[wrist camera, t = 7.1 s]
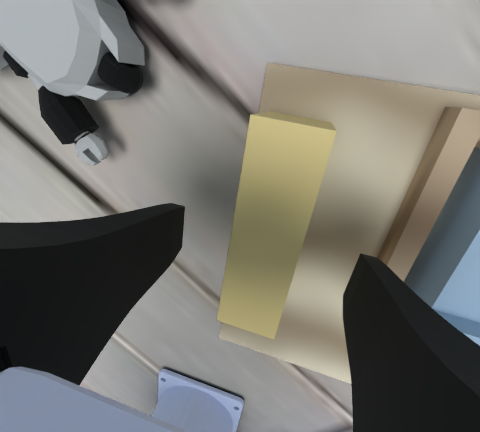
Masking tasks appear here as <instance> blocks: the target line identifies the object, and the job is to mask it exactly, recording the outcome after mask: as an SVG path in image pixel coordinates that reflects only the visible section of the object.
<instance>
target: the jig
mask: <svg viewBox="0 0 480 432" xmlns="http://www.w3.org/2000/svg"><path fill="white" fill-rule="evenodd" d="M266 111H272V112H278V113H283V114H288V115H294V116H299V117H304V118H310V119H315V120H321V121H326V122H331V123H332V124H333V126H334V127H335V129H336V131H337V132H336V136H335V139H334V142H333V146H332V149H331V152H330V156H329V159H328V162H327V165H326V169H325V172H324V175H323V179H322V182H321V185H320V189H319V192H318V195H317V199H316V202H315V205H314V209H313V212H312V215H311V219H310V222H309V225H308V229H307V232H306V235H305V239H304V242H303V245H302V249H301V252H300V255H299V259H298V262H297V265H296V269H295V272H294V275H293V279H292V282H291V285H290V288H289V292H288V295H287V298H286V302H285V305H284V308H283V312H282V315H281V318H280V322H279V325H278V328H277V332H276V335H275V338H274V339H271V338H268V337H265V336H262V335H259V334H256V333H253V332H250V331H247V330H244V329H241V328H238V327H235V326H232V325H229V324H226V323H223V322H222V324H221V330H220V335H219V338H220V339H223V340H226V341H229V342H232V343H235V344H238V345H241V346H243V347H246V348H249V349H252V350H255V351H258V352H261V353H264V354H266V355H269V356H272V357H275V358H278V359H281V360H284V361H287V362H289V363H292V364H295V365H298V366H301V367H304V368H307V369H310V370H312V371H315V372H318V373H321V374H324V375H327V376H330V377H333V378H335V379H338V380H341V381H344V382H347V383H350V384H351V374H350V367H349V360H348V353H347V346H346V339H345V332H344V324H343V294H344V291H345V289H346V286H347V284H348V282H349V279H350V277H351V275H352V272H353V270H354V267H355V265H356V263H357V260H358V258H359V255H360V253H362V254H366V255H369V256H373V257H377V258H379V259H380V260H381V261H382V262H383V263H385V264H386V265H387V266H388V267H389V268H390V269H391V270H392V271H393V272H394V273H395V274H396V275H397V276H398V277H399V278H400V279H401V280H402V281H403V282H404V280H405V278H406V277H407V275H408V273H409V271H410V269H411V267H412V265H413V263H414V261H415V259H416V258H417V256H418V254H419V252H420V250H421V248H422V246H423V244H424V242H425V240H426V239H427V237H428V235H429V233H430V231H431V229H432V227H433V225H434V223H435V221H436V220H437V218H438V216H439V214H440V212H441V210H442V208H443V206H444V204H445V202H446V201H447V199H448V197H449V195H450V193H451V191H452V189H453V187H454V185H455V184H456V182H457V180H458V178H459V176H460V174H461V172H462V170H463V168H464V166H465V165H466V163H467V161H468V159H469V157H470V155H471V153H472V151H473V149H474V147H477V148H480V95H474V94H467V93H461V92H454V91H448V90H441V89H435V88H428V87H422V86H415V85H409V84H403V83H396V82H390V81H383V80H377V79H370V78H364V77H357V76H351V75H344V74H338V73H331V72H325V71H319V70H312V69H306V68H299V67H293V66H286V65H280V64H273V63H267V67H266V73H265V78H264V84H263V90H262V95H261V101H260V107H259V113H261V112H266Z"/></svg>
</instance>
